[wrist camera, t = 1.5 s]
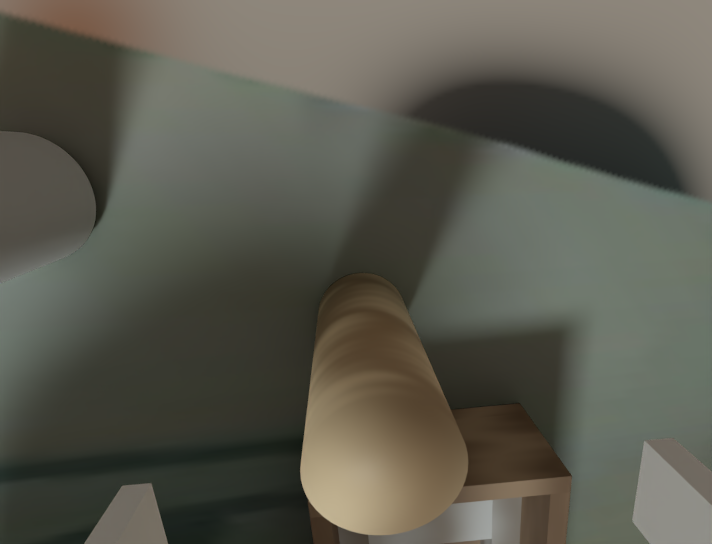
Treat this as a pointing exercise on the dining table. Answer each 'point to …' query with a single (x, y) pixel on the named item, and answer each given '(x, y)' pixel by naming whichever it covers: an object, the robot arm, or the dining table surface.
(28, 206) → the beverage can
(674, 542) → the robot arm
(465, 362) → the dining table surface
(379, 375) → the peg
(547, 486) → the crate
